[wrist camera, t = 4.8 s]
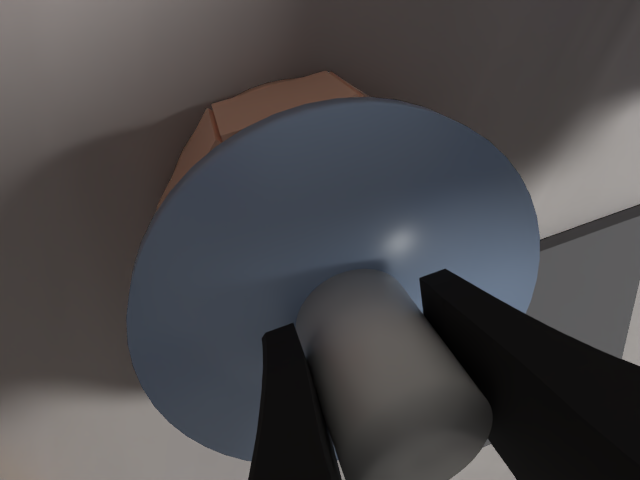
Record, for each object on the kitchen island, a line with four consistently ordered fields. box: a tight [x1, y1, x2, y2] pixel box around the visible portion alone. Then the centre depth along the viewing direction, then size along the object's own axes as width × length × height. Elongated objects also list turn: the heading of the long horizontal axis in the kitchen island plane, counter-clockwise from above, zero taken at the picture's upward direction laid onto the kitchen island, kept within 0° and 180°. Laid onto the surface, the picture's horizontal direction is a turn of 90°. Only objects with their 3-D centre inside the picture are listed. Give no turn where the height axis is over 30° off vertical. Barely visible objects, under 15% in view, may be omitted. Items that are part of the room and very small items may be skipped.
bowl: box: [156, 71, 370, 212], centre depth 14 cm, size 8×8×3 cm
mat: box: [483, 205, 640, 447], centre depth 22 cm, size 14×12×1 cm
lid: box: [126, 97, 540, 480], centre depth 10 cm, size 10×10×4 cm
